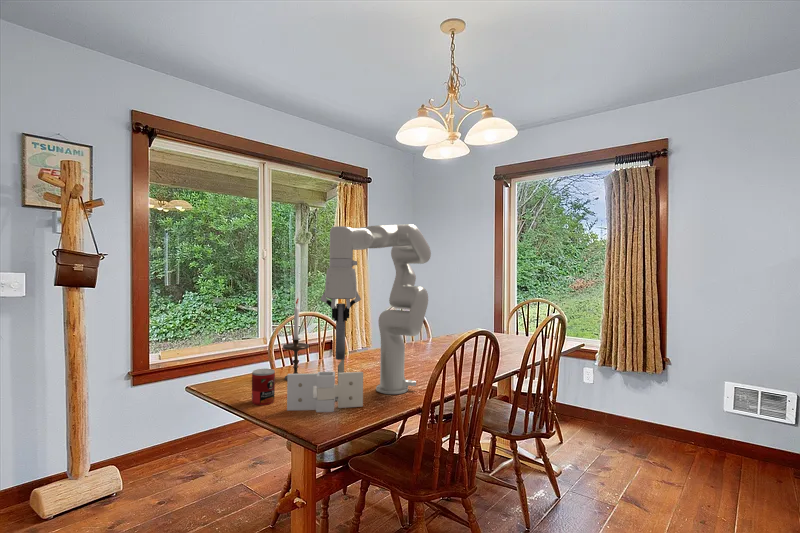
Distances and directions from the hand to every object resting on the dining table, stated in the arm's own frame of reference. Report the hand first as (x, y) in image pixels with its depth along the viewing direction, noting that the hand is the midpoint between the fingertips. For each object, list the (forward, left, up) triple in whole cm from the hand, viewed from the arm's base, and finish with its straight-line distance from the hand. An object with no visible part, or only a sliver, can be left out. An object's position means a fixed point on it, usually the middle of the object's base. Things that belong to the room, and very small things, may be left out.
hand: (340, 319), depth 139 cm
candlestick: (+20, -46, -31) cm, 59 cm away
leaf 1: (+10, -6, -31) cm, 33 cm away
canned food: (+27, -15, -31) cm, 44 cm away
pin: (0, 0, -13) cm, 13 cm away
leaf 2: (0, -6, -31) cm, 31 cm away
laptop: (+6, -24, -32) cm, 40 cm away
